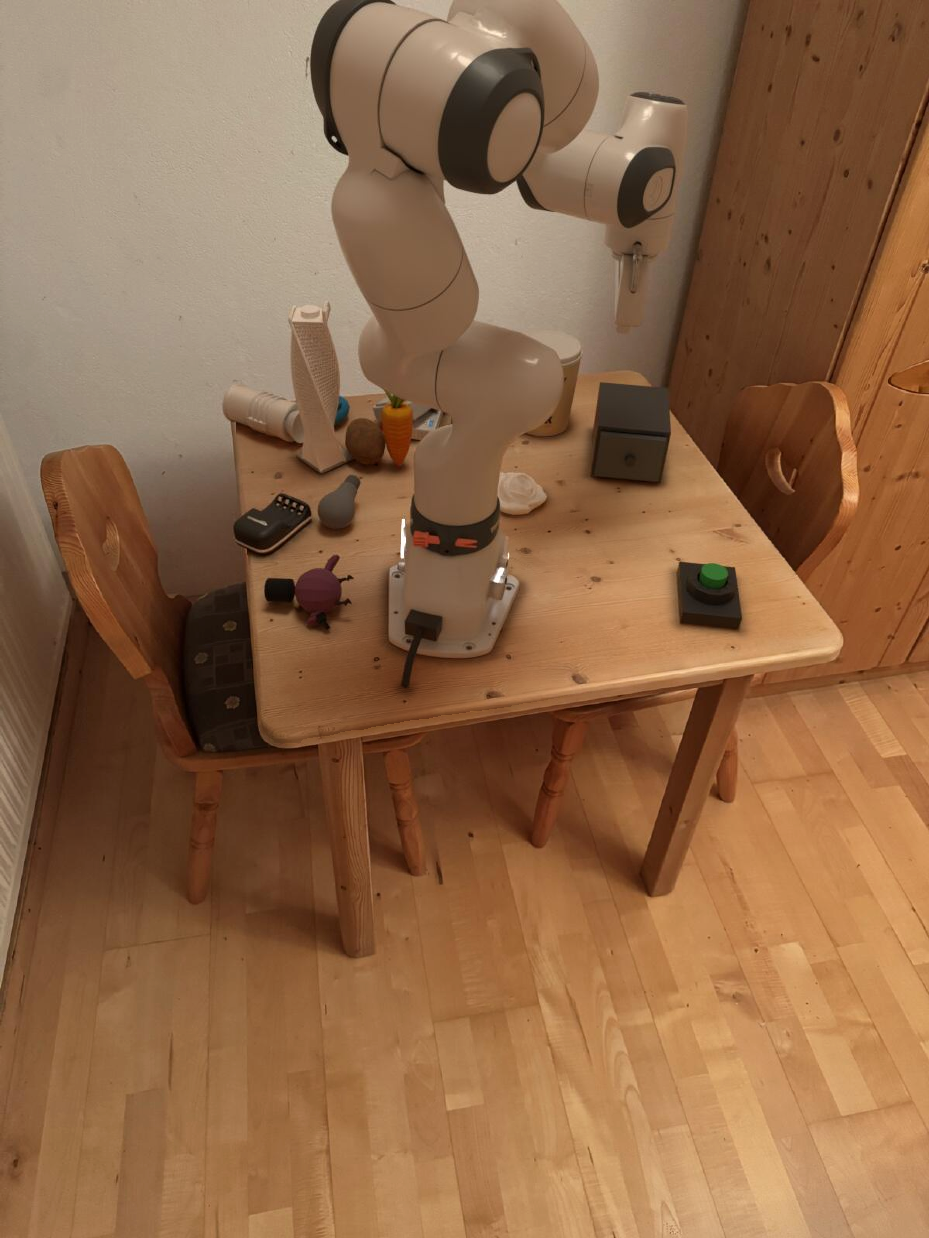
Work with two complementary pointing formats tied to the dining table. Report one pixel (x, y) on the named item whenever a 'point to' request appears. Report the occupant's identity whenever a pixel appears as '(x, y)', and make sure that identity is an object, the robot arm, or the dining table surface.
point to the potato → (365, 441)
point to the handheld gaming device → (416, 408)
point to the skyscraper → (316, 386)
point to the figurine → (310, 591)
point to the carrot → (397, 428)
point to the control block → (707, 599)
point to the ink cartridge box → (426, 423)
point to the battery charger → (271, 524)
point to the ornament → (342, 410)
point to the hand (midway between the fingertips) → (622, 329)
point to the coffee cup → (570, 361)
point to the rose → (519, 493)
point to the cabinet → (631, 414)
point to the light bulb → (339, 504)
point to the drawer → (630, 455)
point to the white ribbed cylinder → (263, 413)
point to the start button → (713, 576)
